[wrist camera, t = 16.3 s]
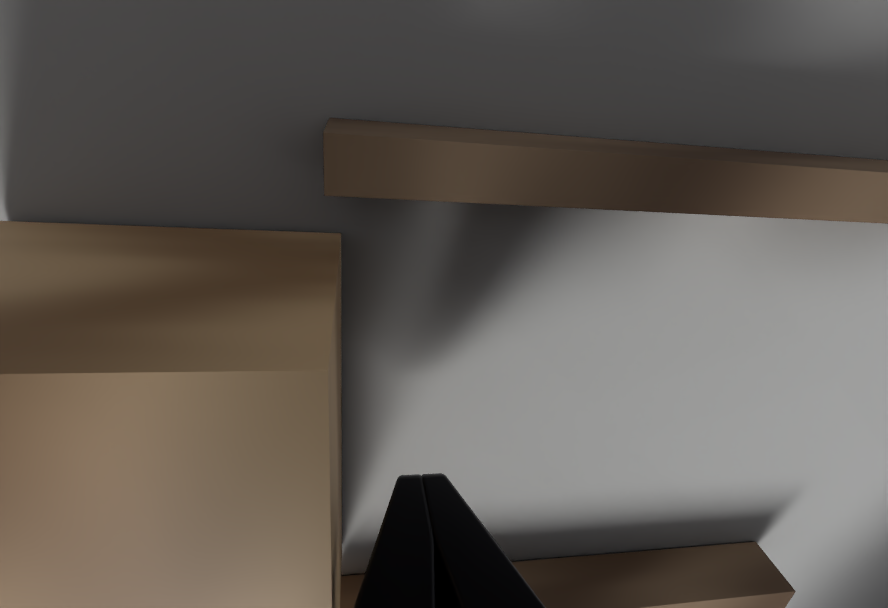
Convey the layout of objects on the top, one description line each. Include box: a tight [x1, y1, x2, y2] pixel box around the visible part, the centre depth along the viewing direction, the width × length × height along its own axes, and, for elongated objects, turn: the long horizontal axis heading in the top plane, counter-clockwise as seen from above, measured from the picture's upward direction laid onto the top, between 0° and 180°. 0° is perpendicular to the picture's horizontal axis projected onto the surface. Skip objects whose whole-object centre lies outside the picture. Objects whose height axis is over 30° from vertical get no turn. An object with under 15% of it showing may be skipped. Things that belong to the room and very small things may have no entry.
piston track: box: [323, 118, 888, 608], centre depth 10 cm, size 17×13×2 cm
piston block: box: [0, 221, 342, 608], centre depth 8 cm, size 5×8×4 cm, turn 175°
